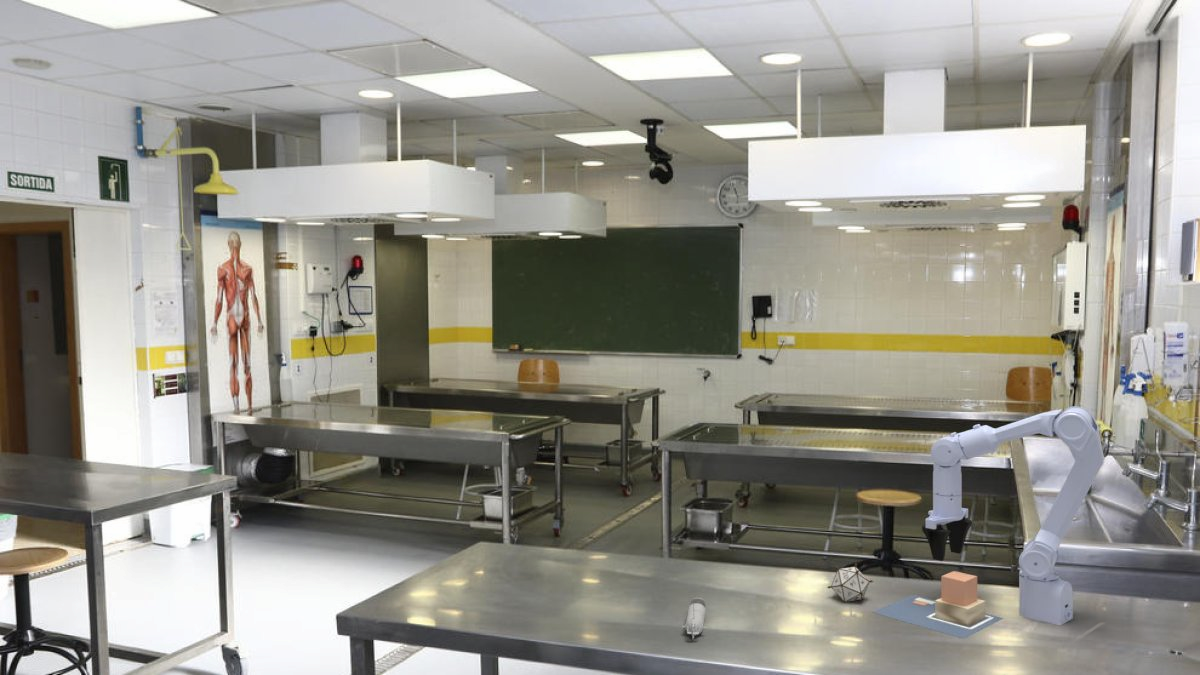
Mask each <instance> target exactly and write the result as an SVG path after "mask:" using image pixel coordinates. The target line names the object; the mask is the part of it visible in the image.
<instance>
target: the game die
mask: <svg viewBox="0 0 1200 675" xmlns="http://www.w3.org/2000/svg"><path fill="white" fill-rule="evenodd" d="M835 569H837V571H836V573H835V576H834V578H833V581H832V583H831V585H828V586H827V587H826V588H827V589H832V590H833V591H834V592H835V594H836V595H838V596H839V598H840V599H841V600H842V601H843V603H847V602H854V601H855V602H856V601H861V600H862V601H863V600H864V596H865V594H866V592H867V590H868V587H869V585H870V583H873V582H874V580H873V579H870V580H869V579H868V578H867V577H866V576H865V575H864V574H863V573H862V572H861V571H860V569H858V564H857V562H856V563H855V564H854V566H851V567H849V566H848V567H841V568H839V566H838V565H835Z"/></svg>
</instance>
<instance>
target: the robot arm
mask: <svg viewBox="0 0 1200 675" xmlns="http://www.w3.org/2000/svg"><path fill="white" fill-rule="evenodd" d="M1062 410H1063V409H1062V408H1061V409H1055V410H1049V411H1045V412H1041V413H1038V414H1035V415H1032V416H1029V417H1026V418H1023V419H1020V420H1017V421H1015V422H1011V423H1008V424H1005V425H1002V426H999V427H996V428H994V427H992V426H990V425H987V424H985V425H984V424H983V425H981V424H980V423H978V424H975V425H973V426H972V429H968V430H965V431H962V432H959V433H957V432H956V431H954V432H952V433H951V434H950V435H949V436H944V437H941V438H939V439H938V440H936V441H935V442H934V443H933V444H932V446H931V448H930V457H931V459H932V461H933V464H932V465H933V471H932V510H929V511H928V512H927V513H928V515H929V516H928V517H926V518H925V524H923V525H922V526H921V531H922V532H923V534H924V536H925V537H926V539H927V543H928V545H929V548H930V552H931V556H932V560H936V561H940V562H943V561H944V560H945V558H946V557H945V556H946V549H947V548H946V546H947V541H949V542H948V543H949V549H950V553H955V554H959V555H961V554H962V552H963V550H964V549H963V548H964V544H965V541H966V537H967V535H968V532H969V530H970V528H971V527H972V526H973V521H972V520H970V519H968V518H969V508H964V507H962V506H963V505H962V502H963V501H962V500H963V498H962V495H963V494H962V490H963V488H962V485H963V484H962V479H963V478H962V477H963V476H962V475H963V474H962V461H961V460H971V459H974V458H978V457H981V456H984V455H988V454H990V453H991V454H992V453H995V452H997V450H998V449H999V447H1000V444H1003V443H1007V442H1010V441H1014V440H1018V439H1021V438H1026V437H1030V436H1033V435H1036V434H1041V435H1043V436H1047V437H1049V438H1053V437H1054V436H1055V435H1056V436H1057V437H1058V438H1059V440H1060V441H1062V442H1063V443H1064V444H1065V445H1066V446H1067V447H1068V449H1069V451H1070V453H1071V454H1072V457H1073V459H1074V463H1073V465H1072V467H1071V469H1070V471H1069V473H1068V475H1067V477H1066V478H1065V480H1064V483H1063V485H1062V487H1061V488H1060V490H1059V492H1058V494H1057V496H1056V498H1055V500H1054V502H1053V504H1052V506H1051V508H1050V510H1049V511H1048V513H1047V515H1046V517H1045V519H1044V521H1043V522H1042V525H1041V527H1040V529H1039V531H1038V533H1037V534H1036V536H1035V537H1034V538H1032V539H1031V540H1029V541H1028V542H1027V543H1026V545H1025V548H1024V550H1023V551H1022V552H1021V553H1020V555H1019V558H1018V566H1019V568H1020V569H1019V572H1018V574H1019V575H1018V576H1019V579H1018V580H1019V581H1018V582H1019V584H1018V585H1019V586H1018V587H1019V588H1018V589H1019V591H1018V592H1019V596H1018V597H1019V598H1018V599H1019V604H1018V605H1019V606H1018V608H1019V609H1018V613H1019V615H1020V616H1021V617H1023V618H1025V619H1029V620H1031V621H1037V622H1043V623H1047V624H1051V625H1055V626H1056V625H1057V626H1062V625H1064V624H1066V623H1067V622H1069V621H1071V620H1073V619H1074V593H1073V592H1074V591H1073V586H1072V583H1070V581H1066V580H1063V579H1062V578H1060V577H1059V572H1057V570H1056V568H1055V567H1054V566H1055V564H1056V563H1057V562H1058V560H1059V547H1060V545H1061V544H1062V542H1063V540H1064V539H1065V538H1064V537H1065V536H1066V534H1067V532H1068V530H1069V528H1070V527H1071V525H1072V523H1073V520H1074V519H1075V517H1076V515H1077V513H1078V512H1079V510H1080V507H1081V506H1082V504H1083V502H1084V500H1085V498H1086V496H1087V494H1088V492H1089V491H1090V489H1091V486H1093V483H1094V481H1095V479H1096V477H1097V475H1098V473H1099V472H1100V469H1101V468H1102V466H1103V464H1104V461H1105V456H1104V450H1103V446H1102V440H1101V435H1100V427H1099V424H1098V422H1097V421H1096V420H1095V417H1094V416H1093V414H1092V413H1091V412H1090V411H1089V410H1088V409H1086V408H1084V407H1082V406H1070V407H1067V408H1065V409H1064V410H1063V411H1062ZM1061 411H1062V412H1061ZM943 525H945V527H946V528H944V527H943Z"/></svg>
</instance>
